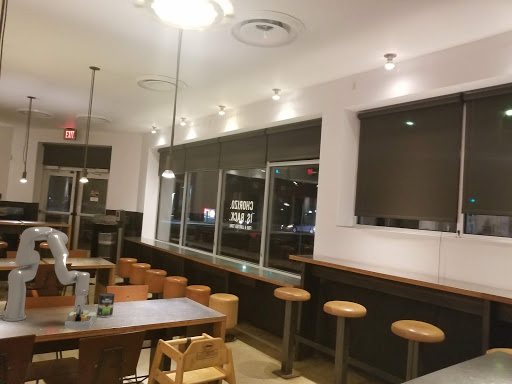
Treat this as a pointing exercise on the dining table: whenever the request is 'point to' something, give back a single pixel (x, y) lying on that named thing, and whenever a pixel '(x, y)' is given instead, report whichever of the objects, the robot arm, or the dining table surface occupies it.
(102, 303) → the coffee can
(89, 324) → the clear square container
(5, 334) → the dining table surface
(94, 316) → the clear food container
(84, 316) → the chute block
